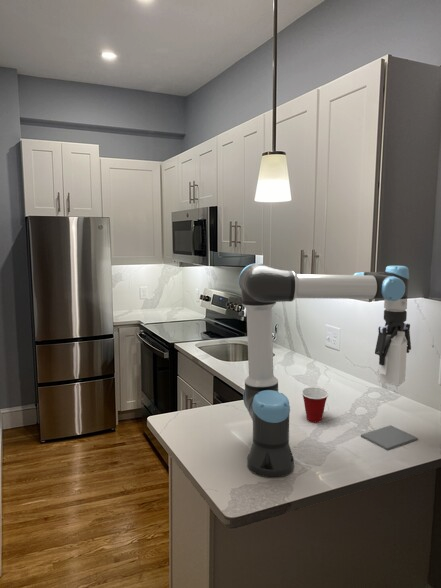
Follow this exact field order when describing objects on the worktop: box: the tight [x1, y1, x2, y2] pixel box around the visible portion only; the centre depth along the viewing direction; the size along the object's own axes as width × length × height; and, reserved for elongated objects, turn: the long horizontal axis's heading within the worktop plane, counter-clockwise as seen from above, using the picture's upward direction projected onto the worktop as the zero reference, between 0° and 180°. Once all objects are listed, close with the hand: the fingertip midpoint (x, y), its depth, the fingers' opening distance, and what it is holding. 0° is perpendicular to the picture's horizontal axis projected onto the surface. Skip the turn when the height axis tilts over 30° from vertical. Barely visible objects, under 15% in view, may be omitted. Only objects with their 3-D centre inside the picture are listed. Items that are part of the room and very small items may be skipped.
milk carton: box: [378, 331, 408, 387], centre depth 160 cm, size 7×7×19 cm
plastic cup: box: [300, 386, 330, 424], centre depth 179 cm, size 11×11×12 cm
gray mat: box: [360, 424, 419, 451], centre depth 164 cm, size 16×12×1 cm
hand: (392, 371), depth 161 cm, fingers closed on milk carton, 9 cm apart
